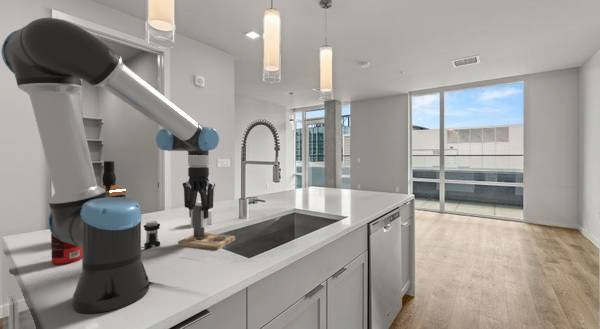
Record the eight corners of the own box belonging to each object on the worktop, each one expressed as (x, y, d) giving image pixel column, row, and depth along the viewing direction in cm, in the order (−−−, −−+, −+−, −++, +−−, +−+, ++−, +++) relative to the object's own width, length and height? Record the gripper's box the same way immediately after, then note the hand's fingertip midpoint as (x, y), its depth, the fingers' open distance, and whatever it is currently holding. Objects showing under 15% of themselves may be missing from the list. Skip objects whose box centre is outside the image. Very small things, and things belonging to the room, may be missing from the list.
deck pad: (199, 263, 84) (199, 260, 84) (178, 260, 87) (178, 257, 87) (214, 254, 92) (214, 251, 92) (194, 252, 94) (194, 249, 94)
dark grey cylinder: (200, 238, 101) (199, 206, 101) (191, 237, 102) (191, 206, 102) (206, 235, 105) (206, 205, 104) (198, 234, 106) (197, 204, 106)
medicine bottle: (206, 221, 139) (206, 199, 138) (212, 224, 133) (212, 200, 133) (192, 223, 134) (192, 200, 134) (197, 226, 129) (197, 202, 128)
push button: (142, 254, 92) (142, 225, 92) (137, 250, 96) (137, 223, 95) (162, 249, 97) (162, 222, 97) (157, 245, 101) (157, 219, 100)
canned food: (87, 254, 91) (86, 223, 91) (77, 263, 84) (76, 229, 83) (59, 257, 88) (58, 225, 88) (46, 266, 81) (45, 231, 80)
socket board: (217, 252, 94) (217, 245, 94) (178, 247, 99) (178, 240, 99) (234, 242, 105) (234, 235, 105) (199, 238, 110) (199, 231, 110)
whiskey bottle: (107, 240, 106) (106, 161, 105) (88, 238, 109) (87, 161, 108) (129, 233, 116) (129, 161, 115) (112, 231, 119) (111, 160, 118)
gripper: (223, 166, 104) (223, 225, 104) (187, 165, 109) (187, 222, 109) (211, 167, 96) (211, 230, 97) (173, 166, 101) (174, 226, 102)
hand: (198, 226), depth 103 cm, fingers closed on dark grey cylinder, 4 cm apart
